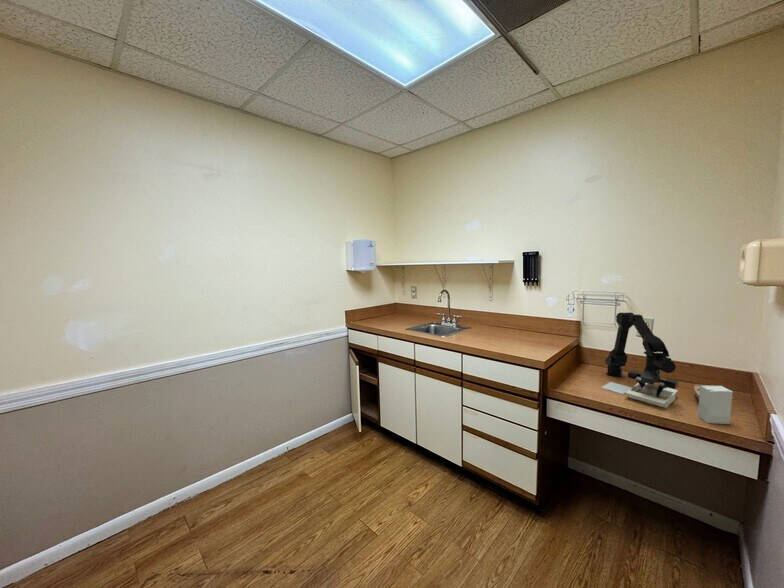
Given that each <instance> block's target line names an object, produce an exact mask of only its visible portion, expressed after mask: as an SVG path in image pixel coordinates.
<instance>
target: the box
mask: <svg viewBox="0 0 784 588" xmlns="http://www.w3.org/2000/svg"><path fill="white" fill-rule="evenodd" d="M659 385H660V384H656V383H654V384H653V385H651V384H646V385H645V386H644V387H643V388H642V394H645V395H649V396H653V397H656V398H657V392H658V386H659ZM660 395H661V394H660ZM660 395H659V397H658V398H660V399H661V396H660Z"/></svg>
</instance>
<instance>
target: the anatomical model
mask: <svg viewBox="0 0 784 588" xmlns="http://www.w3.org/2000/svg"><path fill="white" fill-rule="evenodd" d="M700 386H709V385H707V384H694V385H693V391H694V394H695V396H696V398H697V399H698V400H699V397H700Z"/></svg>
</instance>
